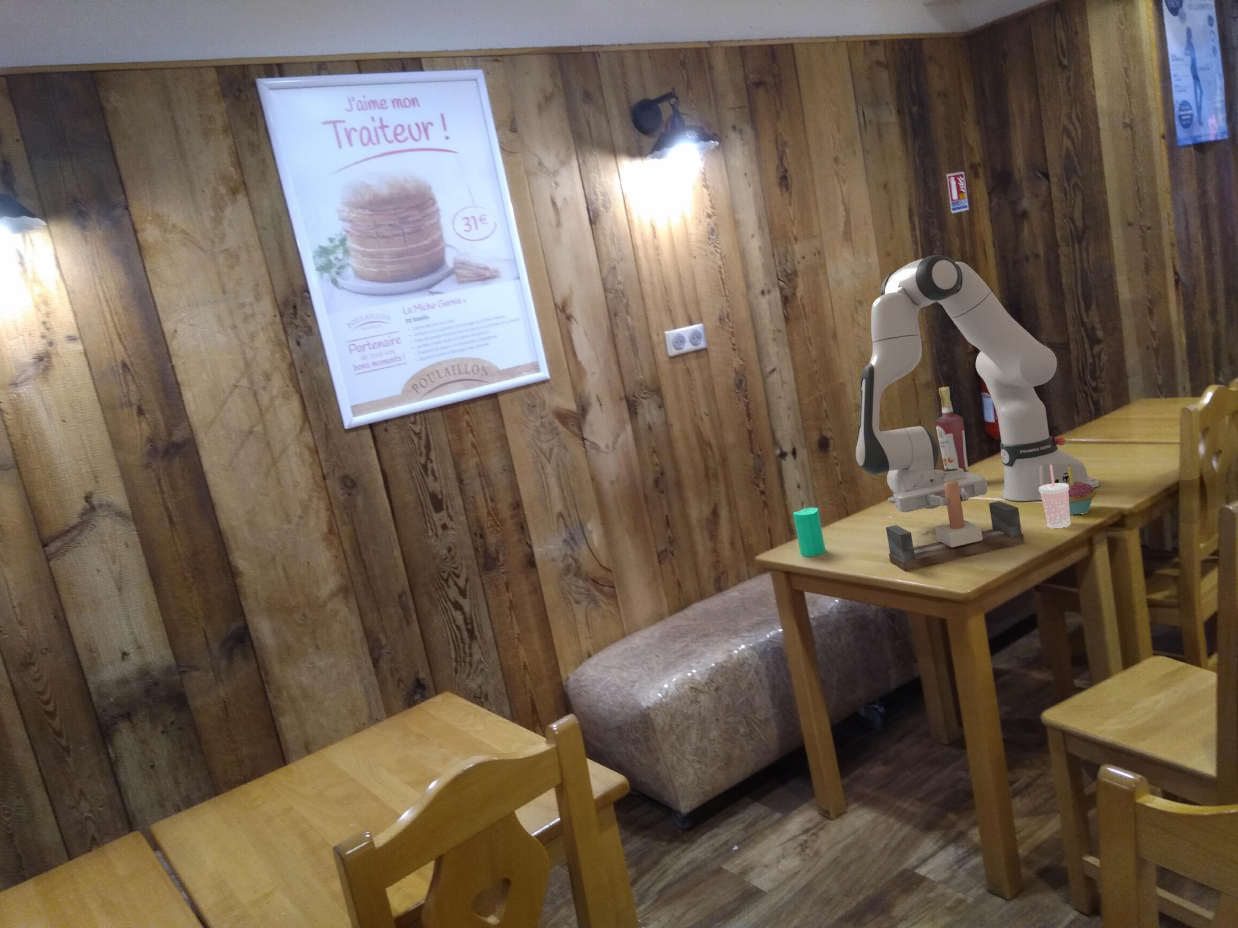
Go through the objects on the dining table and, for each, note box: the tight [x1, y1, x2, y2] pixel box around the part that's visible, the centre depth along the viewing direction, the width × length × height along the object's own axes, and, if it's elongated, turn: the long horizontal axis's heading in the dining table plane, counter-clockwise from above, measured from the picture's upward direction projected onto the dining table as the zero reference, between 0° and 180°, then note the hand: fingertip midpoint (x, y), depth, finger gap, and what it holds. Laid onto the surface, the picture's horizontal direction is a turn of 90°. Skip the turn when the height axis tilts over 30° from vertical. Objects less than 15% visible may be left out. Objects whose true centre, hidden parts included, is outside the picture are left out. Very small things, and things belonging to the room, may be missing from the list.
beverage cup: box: [1039, 464, 1071, 529], centre depth 199 cm, size 6×6×14 cm
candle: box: [793, 504, 826, 557], centre depth 218 cm, size 6×6×12 cm
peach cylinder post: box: [935, 481, 983, 547], centre depth 195 cm, size 7×7×13 cm
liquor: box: [934, 386, 969, 472], centre depth 250 cm, size 7×7×28 cm
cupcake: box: [1066, 464, 1096, 514], centre depth 206 cm, size 9×8×12 cm
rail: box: [885, 500, 1025, 572], centre depth 196 cm, size 27×8×8 cm, turn 95°
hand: (955, 499), depth 194 cm, fingers closed on peach cylinder post, 3 cm apart
